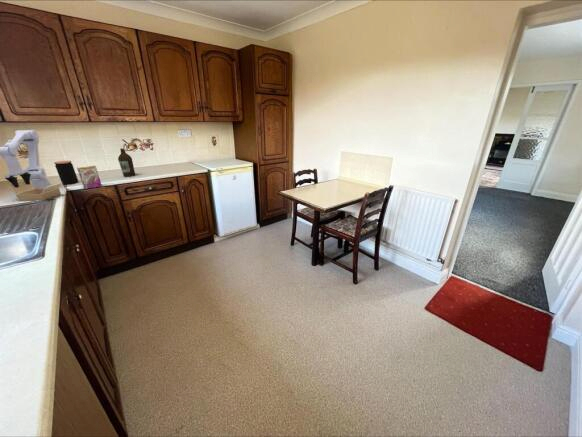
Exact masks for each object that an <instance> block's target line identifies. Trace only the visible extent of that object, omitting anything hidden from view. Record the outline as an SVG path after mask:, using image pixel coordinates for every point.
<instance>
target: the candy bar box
mask: <svg viewBox="0 0 582 437" xmlns="http://www.w3.org/2000/svg"><path fill="white" fill-rule="evenodd" d="M76 170H77V172H78V176H79V178H80V182H81V185H82V188H83V189H85V190H88V189H93V188H99V187H102V186H103V185H102V182H101V179H100V175H99V172H98V169H97V166H96V165H93V164H92V165H85V166H77V167H76Z"/></svg>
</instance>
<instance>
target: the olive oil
mask: <svg viewBox="0 0 582 437" xmlns="http://www.w3.org/2000/svg"><path fill="white" fill-rule="evenodd" d="M119 149H120V154H119V156H117V158H118V159H117V160H118V163H119V166H120V168H121V169H120V170H121V172H122V175H123V178H132V177H135V176H136V173H135V172H136V171H135V167H134V163H133V162H134V161H133V158H132V156H131V155H130V154H128V153H127V152H126V150H125V148H123V147H122V148H119Z"/></svg>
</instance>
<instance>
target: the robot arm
mask: <svg viewBox="0 0 582 437" xmlns="http://www.w3.org/2000/svg"><path fill="white" fill-rule="evenodd" d="M21 143H23V144H25V145H27V153H28V154H27V155H28V167H26V168H25V170H23V168H22V166H21V165H20V162H19V160H18V157H17V155H18V149H19V148H20V147H21ZM39 143H40V137H39V134H38V133H37V131H36V130H35V129H30V130H28V129H27V130H24V129H23V130H17V129H16V131H15V132H14V137H13V138H12V139H8V140H7V141H6V143H5V144H4V145H3V146H0V157H1V158H2V159H3V160H4V162H5V165H6V166H7V168H8V170H9V173H6V174H5V173H4V175H3V176H4V179H5V180H7V181H8V182H9V183H10V184H11V185H12V184H13V185H14V187H19V185H18V183H19V181H18V177H17V176H20V177H21V178H22V180H23V182H24V181H25V183H26V185H29V184H30V182H31V184H32V185H33V186H34V189H45V187H48V186H51V185H52V184H51V182H50V180H49V179H48V178H47V174H46V170H45V169H44V168H42V167H41V166H40V157H39V156H40V155H39V153H40V152H39Z"/></svg>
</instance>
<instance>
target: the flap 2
mask: <svg viewBox="0 0 582 437" xmlns="http://www.w3.org/2000/svg"><path fill="white" fill-rule="evenodd" d="M62 183H63V182H61V181H60V182H59V183H55V184H51V186H48V187H45V189H44V190H43V192H42V193H45V192H48V191H51V190H55V189H58V188H59V189H60V187H61V185H63V184H62Z"/></svg>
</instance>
